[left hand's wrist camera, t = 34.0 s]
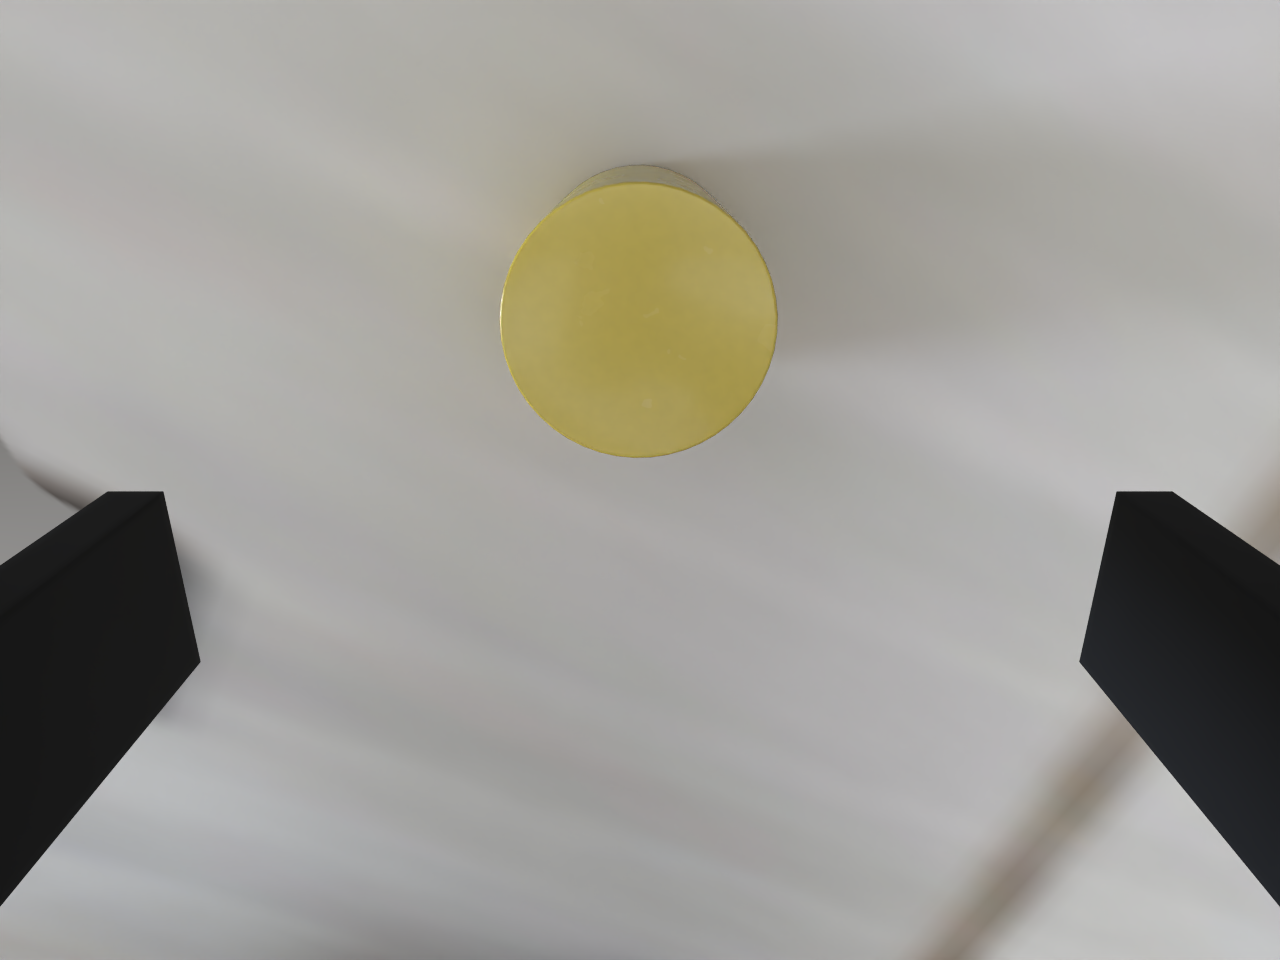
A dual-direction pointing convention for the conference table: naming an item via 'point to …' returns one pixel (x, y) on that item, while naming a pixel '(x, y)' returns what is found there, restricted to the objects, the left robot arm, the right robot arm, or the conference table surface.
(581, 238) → the cylinder
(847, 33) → the conference table surface
